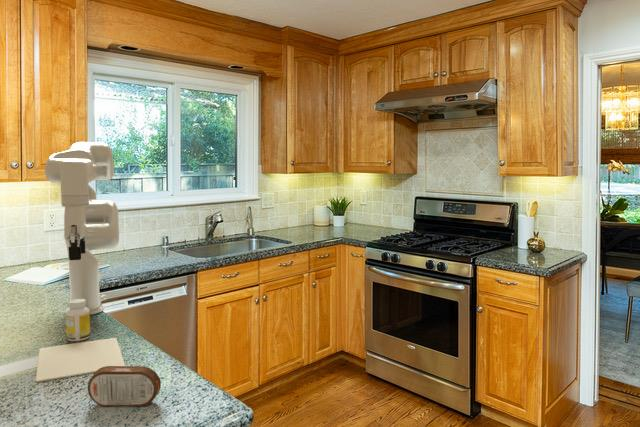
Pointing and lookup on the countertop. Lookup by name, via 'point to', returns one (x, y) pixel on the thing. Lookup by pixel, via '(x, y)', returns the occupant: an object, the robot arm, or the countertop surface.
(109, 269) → the countertop surface
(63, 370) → the mat
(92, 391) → the tin
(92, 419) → the countertop surface
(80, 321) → the pill bottle
